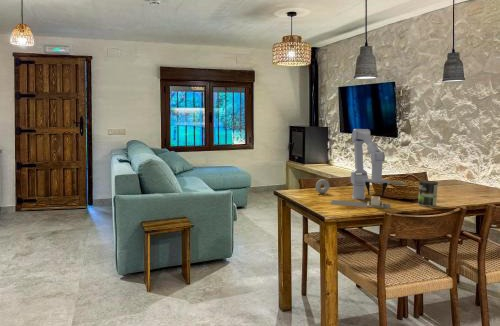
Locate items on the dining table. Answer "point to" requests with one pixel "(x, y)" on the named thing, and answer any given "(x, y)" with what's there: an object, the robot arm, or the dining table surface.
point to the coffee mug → (397, 183)
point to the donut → (318, 186)
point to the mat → (356, 203)
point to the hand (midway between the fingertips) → (375, 195)
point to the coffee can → (427, 193)
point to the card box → (375, 200)
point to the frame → (374, 205)
